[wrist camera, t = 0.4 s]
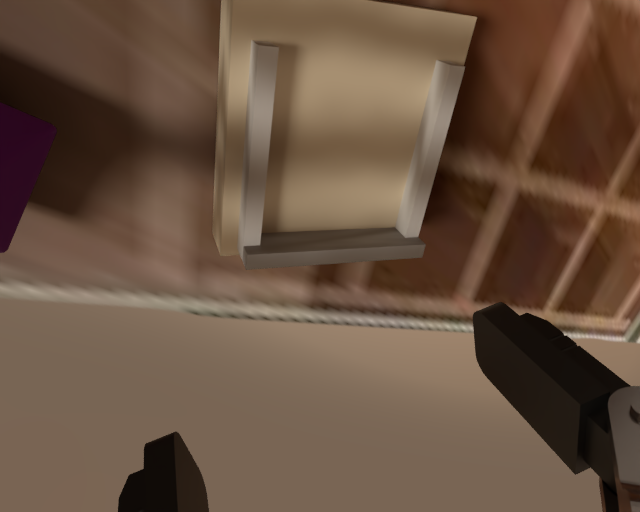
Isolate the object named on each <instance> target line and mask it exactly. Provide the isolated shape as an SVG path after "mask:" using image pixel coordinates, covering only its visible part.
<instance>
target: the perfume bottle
mask: <svg viewBox="0 0 640 512" xmlns="http://www.w3.org/2000/svg"><path fill="white" fill-rule="evenodd" d="M56 133H57V130H56V127H55V126H53V125H52V124H50V123H48V122H46V121H43V120H41V119H39V118H36V117H34V116H31V115H29V114H27V113H24V112H22V111H20V110H17V109H15V108H13V107H10V106H8V105H6V104H3V103H1V102H0V253H4V252H5V251H7V250H8V248H9V245H10V243H11V240H12V238H13V236H14V233H15V231H16V228H17V226H18V224H19V221H20V219H21V216H22V214H23V212H24V209H25V207H26V205H27V202H28V200H29V197H30V195H31V193H32V190H33V188H34V185H35V183H36V181H37V178H38V176H39V174H40V171H41V169H42V166H43V164H44V162H45V159H46V157H47V154H48V152H49V150H50V147H51V145H52V142H53V140H54V138H55V135H56Z"/></svg>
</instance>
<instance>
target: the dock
mask: <svg viewBox="0 0 640 512" xmlns="http://www.w3.org/2000/svg"><path fill="white" fill-rule="evenodd" d="M476 20H477V17H475V16H470V15H465V14H460V13H456V12H451V11H445V10H439V9H432V8H426V7H419V6H413V5H406V4H400V3H393V2H387V1H380V0H221V19H220V46H219V72H218V98H217V124H216V151H215V177H214V203H213V229H212V233H213V236H214V239H215V242H216V244H217V247H218V250H219V253H220V256H229V255H240V256H241V258H242V261H243V263H244V266H245V268H246V270H249V269H263V268H278V267H292V266H306V265H320V264H335V263H349V262H363V261H377V260H392V259H406V258H420V257H422V255H423V252H424V248H425V245H426V244H425V243H424V242H423V241H421V240H420V239H419V238H418V235H419V232H420V228H421V225H422V221H423V217H424V214H425V210H426V207H427V203H428V199H429V196H430V192H431V189H432V185H433V182H434V178H435V174H436V171H437V167H438V164H439V160H440V156H441V153H442V149H443V146H444V142H445V138H446V135H447V131H448V128H449V124H450V120H451V117H452V113H453V110H454V106H455V102H456V99H457V95H458V92H459V88H460V84H461V81H462V77H463V74H464V70H465V67H464V63H465V59H466V56H467V52H468V49H469V45H470V41H471V38H472V34H473V30H474V27H475V23H476Z"/></svg>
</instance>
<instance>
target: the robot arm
mask: <svg viewBox="0 0 640 512" xmlns="http://www.w3.org/2000/svg"><path fill="white" fill-rule="evenodd" d="M473 327H474V339H475V351H476V358H477V361H478V364H479V366H480V368H481V369H482V371H483V373H484V374H485V376H486V377H487V378H488V379H489V380H490V381H491V382H492V384H493V385H494V386H495V387H496V388H497V389H498V390H499V391H500V392H501V394H503V396H504V397H505V398H506V399H507V400H508V401H509V402H510V403H511V405H512V406H513V407H514V408H515V409H516V410H517V411H518V412H519V413H520V414H521V415H522V417H523V418H524V419H525V420H526V421H527V422H528V423H529V424H530V425H531V427H532V428H534V430H535V431H536V432H537V433H538V434H539V435H540V436H541V437H542V439H543V440H544V441H545V442H546V443H547V444H548V445H549V446H550V447H551V449H552V450H553V451H554V452H555V453H556V454H557V455H558V456H559V457H560V458H561V459H562V461H563V462H564V463H565V464H566V465H567V466H568V467H569V468H570V469H571V470H572V472H573V473H574V474H578V473H580V472H582V471H584V470H586V469H588V468H590V467H591V468H592V469H593V470H594V471H595V472H596V473H597V474H598V475H599V476H600V477H599V487H600V495H601V503H602V511H603V512H640V386H630V385H629V384H627V383H626V382H625V381H623V380H622V379H621V378H619V377H618V376H617V375H615V374H614V373H613V372H612V371H611V370H609V369H608V368H607V367H606V366H604V365H603V364H602V363H601V362H599V361H598V360H597V359H595V358H594V357H593V356H591V355H590V354H589V353H588V352H586V351H585V350H584V349H583V348H581V347H580V346H577V345H576V343H575V342H574V341H573V340H571V339H570V338H569V337H568V336H564V334H563V333H562V332H561V331H560V330H559V329H557V328H556V327H555V326H554V325H552V324H551V323H550V322H548V321H547V320H544V319H542V318H539V317H537V316H534V315H532V314H529V313H525V314H523V315H520V316H519V315H518V314H517V313H516V312H514V311H513V310H512V309H511V308H510V307H508V306H507V305H506V304H504V303H502V302H499V303H496V304H494V305H491V306H489V307H486V308H484V309H482V310H479V311H477V312H475V313H474V314H473ZM118 512H209V508H208V500H207V493H206V487H205V484H204V481H203V477H202V474H201V472H200V470H199V468H198V467H197V465H196V463H195V461H194V459H193V457H192V455H191V454H190V452H189V451H188V448H187V447H186V445H185V443H184V441H183V439H182V438H181V436H180V434H179V433H177V432H173V433H171V434H169V435H166V436H163V437H161V438H159V439H156V440H154V441H151V442H149V443H146V444H145V447H144V469H143V470H140V471H138V472H135V473H133V474H130V475H129V476H128V479H127V481H126V484H125V485H124V488H123V490H122V492H121V495H120V497H119V506H118Z"/></svg>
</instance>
